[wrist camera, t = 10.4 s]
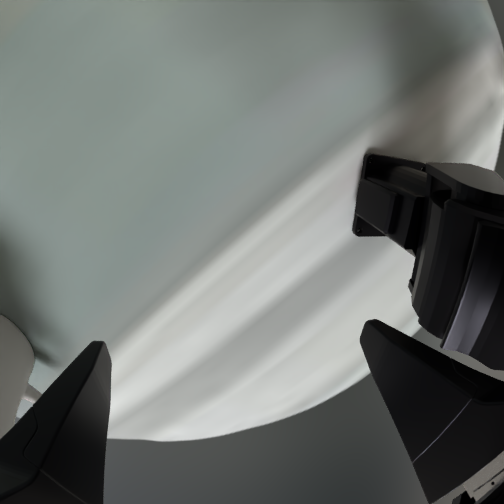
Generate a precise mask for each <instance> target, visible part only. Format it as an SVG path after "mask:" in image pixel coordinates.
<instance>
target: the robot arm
mask: <svg viewBox="0 0 504 504" xmlns="http://www.w3.org/2000/svg"><path fill="white" fill-rule="evenodd" d="M370 158H372V162H371V163H370V162H369V160H370ZM421 168H422V170H421ZM359 228H360V230H359V231H358V229H359ZM352 231H353V233H354V234H355V235H356V236H359V237H363V236H387V237H389V238H390V239H391V240H393V241H394V242H396V243H397V244H398V245H400V246H401V247H402V248H404V249H405V250H406V251H408V252H409V253H410V254H412V255H413V256H414V257H415V263H414V268H413V273H412V278H411V279H410V280H409V285H408V288H409V290H410V292H411V294H412V296H411V298H412V306H413V308H414V310H415V312H416V313H417V315H418V317H419V319H418V322H419V324H420V325H421V326H422V327H423V328H425V329H426V330H427V331H428V332H429V333H431V334H432V335H434V336H436V337H437V338H440V339H442V342H441V344H440V347H441V348H442V349H446V350H453V351H458V352H461V353H463V354H466V355H469V356H471V357H473V358H474V359H476V360H478V361H479V362H481V363H482V364H484V365H485V366H487V367H489V368H490V369H493V370H504V180H503V179H502V178H501V177H500V176H499V175H498V174H497V173H496V172H495V171H492V170H489V169H485V168H482V167H479V166H475V165H472V164H464V163H426V164H424V163H421V162H416V161H411V160H406V159H400V158H395V157H389V156H384V155H378V154H371V153H368V154H366V155H365V157H364V161H363V168H362V175H361V180H360V183H359V189H358V195H357V201H356V207H355V218H354V223H353V229H352ZM360 344H361V347H362V349H363V352H364V355H365V357H366V360H367V363H368V366H369V368H370V371H371V374H372V376H373V378H374V380H375V383H376V385H377V387H378V389H379V391H380V393H381V395H382V397H383V399H384V401H385V404H386V406H387V408H388V410H389V412H390V414H391V416H392V419H393V421H394V423H395V425H396V427H397V429H398V432H399V434H400V436H401V438H402V441H403V443H404V445H405V448H406V450H407V452H408V454H409V457H410V459H411V461H412V464H413V467H414V469H415V471H416V474H417V476H418V479H419V481H420V483H421V486H422V488H423V491H424V493H425V496H426V499H427V501H428V503H429V504H432V503H434V502H436V501H437V500H439V499H441V498H442V497H444V496H445V495H447V494H448V493H450V492H451V491H453V490H454V489H456V488H457V487H459V486H460V485H462V484H463V486H464V487H465V489H466V490H465V491H464V492H463V493H462V494H460V495H459V496H457V497H456V498H455V499H453V501H452V504H504V381H501V380H498V379H495V378H493V377H491V376H488V375H486V374H484V373H481V372H479V371H477V370H474V369H472V368H470V367H468V366H466V365H464V364H462V363H460V362H458V361H456V360H454V359H452V358H451V359H450V357H448V356H446V355H444V354H442V353H440V352H438V351H437V350H435V349H433V348H431V347H429V346H427V345H425V344H423V343H421V342H419V341H417V340H416V339H414V338H412V337H410V336H408V335H406V334H404V333H402V332H400V331H398V330H396V329H395V328H393V327H391V326H389V325H387V324H385V323H383V322H381V321H379V320H377V319H373V320H368V321H366V322H365V324H364V327H363V330H362V333H361V336H360ZM111 368H112V363H111V358H110V355H109V352H108V349H107V346H106V343H105V342H104V341H92V342H91V343H90V344H89V345H88V346H87V347H86V348H85V349H84V350H83V351H82V352H81V353H80V354H79V355H78V357H77V358H76V359H75V360H74V361H73V362H72V363H71V364H70V365H69V366H68V367H67V368H66V369H65V370H64V371H63V372H62V374H61V375H60V376H59V377H58V378H57V379H56V380H55V381H54V382H53V383H52V384H51V385H50V387H49V388H48V389H47V390H46V391H45V392H44V393H43V394H42V395H41V396H40V398H39V399H38V400H37V401H36V402H35V403H34V404H33V407H31V408H30V409H29V410H28V411H27V412H26V413H25V414H24V416H23V417H22V418H21V419H20V420H19V421H18V422H17V423H16V424H15V425H14V426H13V427H12V428H11V429H10V430H9V431H8V432H7V433H6V434H5V435H4V436H3V437H2V438H1V439H0V504H103V492H104V491H103V490H104V467H105V452H106V441H107V431H108V422H109V413H110V401H111Z"/></svg>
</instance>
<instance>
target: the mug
mask: <svg viewBox="0 0 504 504" xmlns="http://www.w3.org/2000/svg"><path fill="white" fill-rule="evenodd" d="M34 363H35V357H34V353H33V349H32V347H31V345H30V343H29V341H28V340H27V338H26V337H25V335H24V334H23V333H22V332H21V331H20V329H19V328H18V327H17V326H16V325H15V324H13V323H12V322H11V321H10V320H9V319H7V318H6V317H4V316H3V315H1V314H0V439H1V438H2V437H3V436H4V435H5V434H6V433H7V432H8V431H9V430H10V429H11V428H12V427H13V426H14V425H15V417H16V414H17V410H18V407H19V405H20V402H21V400H22V399H24V400H28V401H30V402H32V403H33V404H34V403H35V402H36V401H37V400H38V399H39V398H40V396H41V395H42V394H41V393H40V392H39V391H37V390H36V389H35V388H34V387H32V386H31V385H29V384H28V380H29V377H30V375H31V373H32V370H33V367H34Z"/></svg>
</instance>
